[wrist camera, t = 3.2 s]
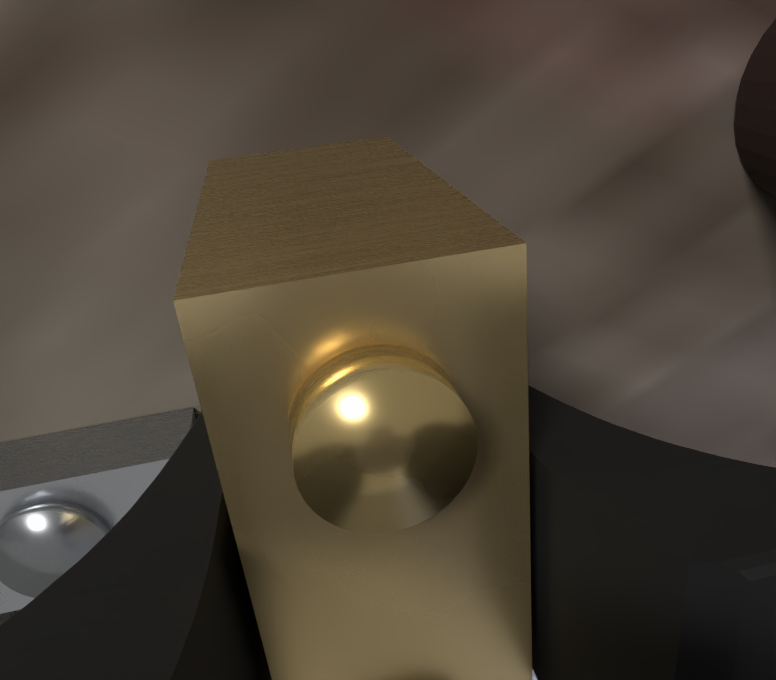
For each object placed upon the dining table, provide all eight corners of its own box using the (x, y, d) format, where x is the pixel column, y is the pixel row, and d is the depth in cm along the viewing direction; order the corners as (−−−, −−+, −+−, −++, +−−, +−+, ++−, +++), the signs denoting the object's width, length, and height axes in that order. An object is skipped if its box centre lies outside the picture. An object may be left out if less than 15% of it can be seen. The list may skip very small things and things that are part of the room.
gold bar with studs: (422, 503, 15) (551, 846, 9) (289, 531, 15) (323, 911, 8) (385, 135, 12) (554, 264, 5) (209, 160, 11) (165, 330, 5)
